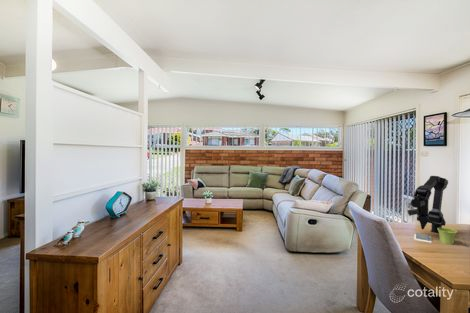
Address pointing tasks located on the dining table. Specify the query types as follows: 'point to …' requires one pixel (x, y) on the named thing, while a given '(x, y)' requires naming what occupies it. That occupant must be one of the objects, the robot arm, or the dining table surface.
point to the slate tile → (422, 237)
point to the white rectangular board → (422, 240)
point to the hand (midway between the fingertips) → (422, 229)
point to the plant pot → (446, 235)
